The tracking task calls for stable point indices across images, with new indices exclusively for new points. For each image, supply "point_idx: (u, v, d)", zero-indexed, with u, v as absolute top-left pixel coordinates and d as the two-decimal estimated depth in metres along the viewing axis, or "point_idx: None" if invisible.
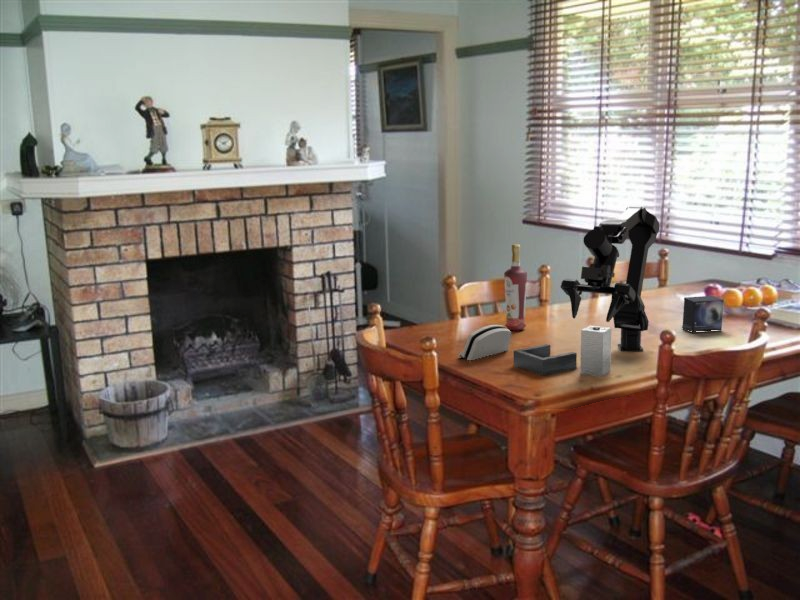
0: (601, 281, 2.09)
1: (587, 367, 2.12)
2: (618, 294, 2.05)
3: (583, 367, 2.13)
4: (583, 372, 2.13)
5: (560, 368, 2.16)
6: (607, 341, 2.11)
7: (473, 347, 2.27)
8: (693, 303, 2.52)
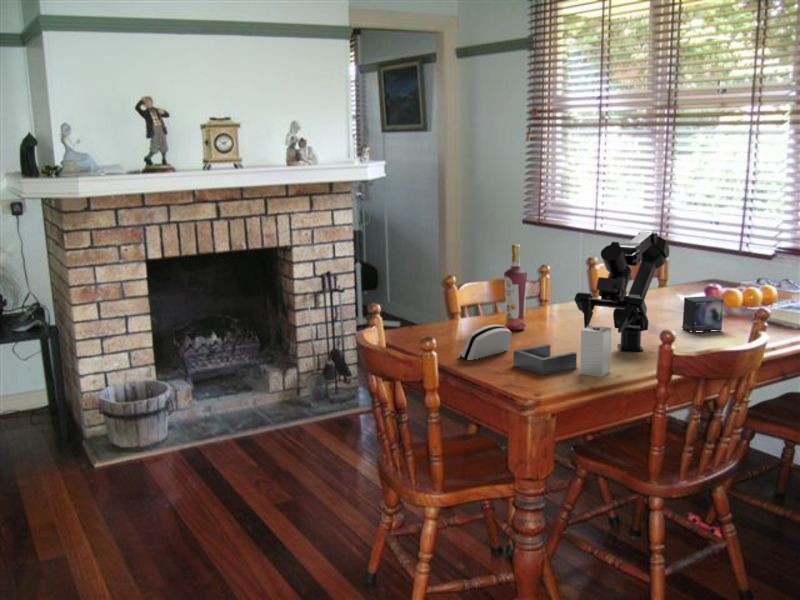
0: (615, 294, 2.17)
1: (587, 367, 2.12)
2: (631, 306, 2.13)
3: (583, 367, 2.13)
4: (583, 372, 2.13)
5: (560, 368, 2.16)
6: (606, 341, 2.11)
7: (473, 347, 2.27)
8: (693, 303, 2.52)
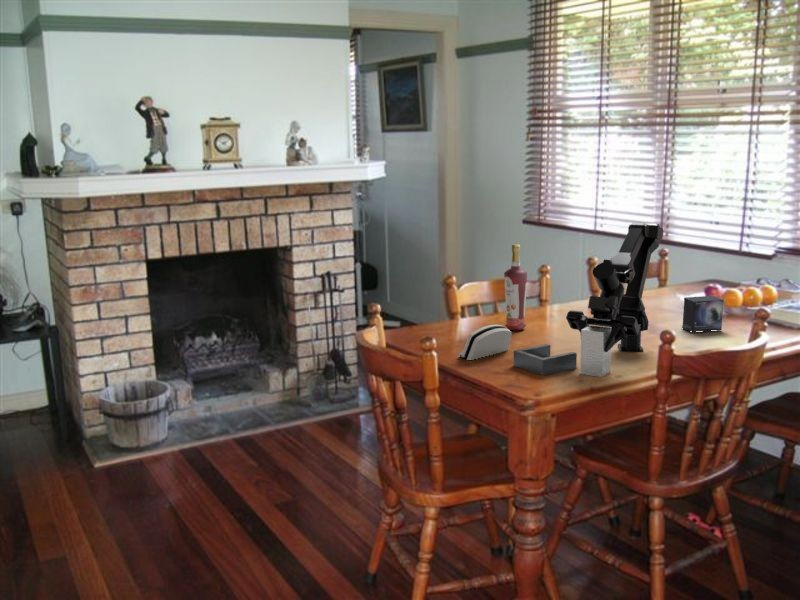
0: (607, 313, 2.13)
1: (587, 367, 2.12)
2: (618, 324, 2.10)
3: (583, 367, 2.13)
4: (583, 372, 2.13)
5: (560, 368, 2.16)
6: None
7: (473, 347, 2.27)
8: (693, 303, 2.52)
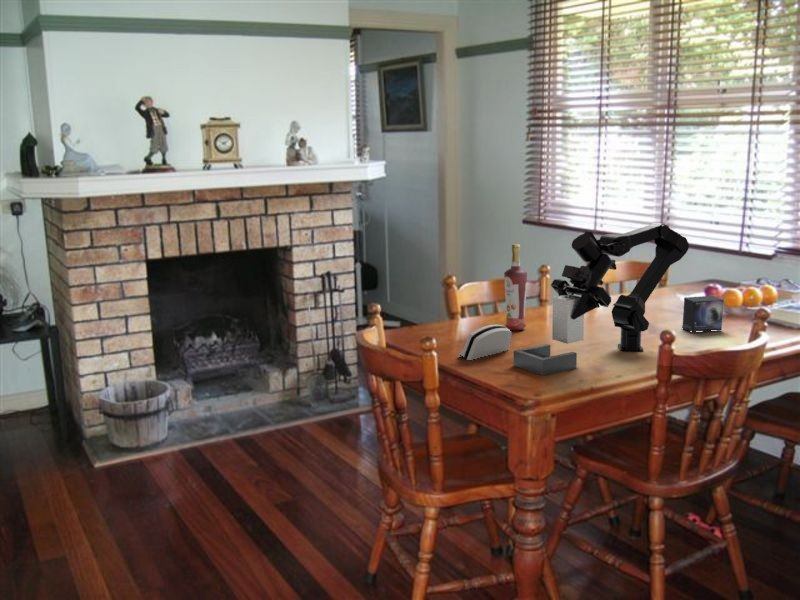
0: (582, 283, 2.20)
1: (556, 333, 2.22)
2: (586, 294, 2.17)
3: (554, 333, 2.23)
4: (554, 338, 2.23)
5: (560, 368, 2.16)
6: None
7: (473, 347, 2.28)
8: (693, 303, 2.52)
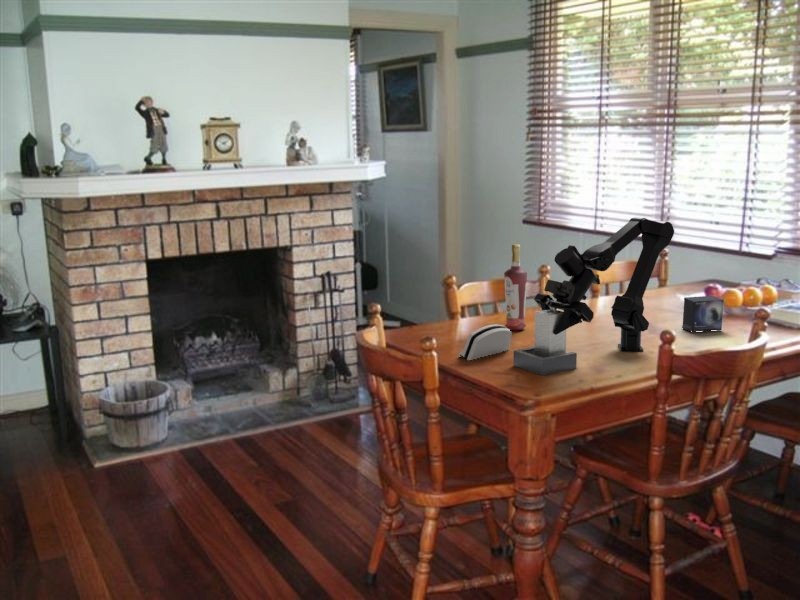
0: (564, 297, 2.18)
1: (539, 348, 2.20)
2: (568, 309, 2.14)
3: (536, 348, 2.21)
4: (536, 352, 2.21)
5: (560, 368, 2.16)
6: (557, 324, 2.17)
7: (473, 347, 2.28)
8: (693, 303, 2.52)
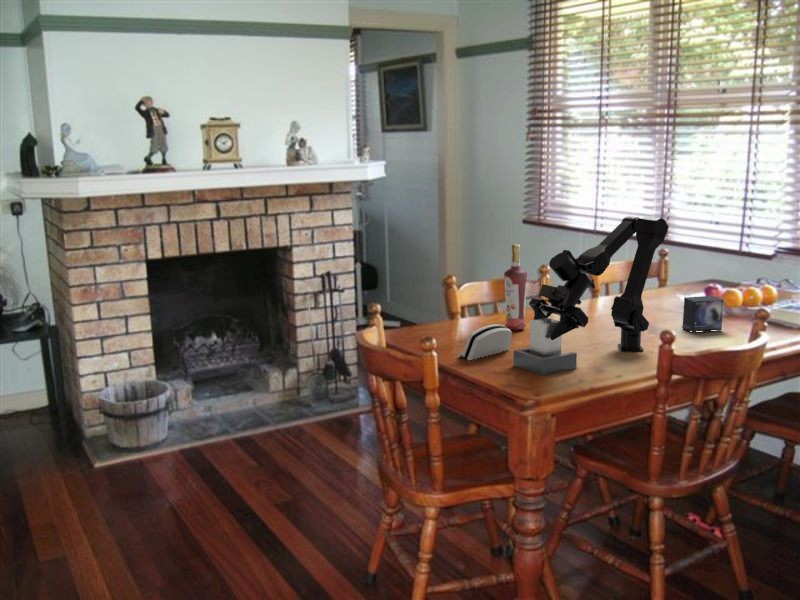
0: (559, 302, 2.18)
1: None
2: (565, 314, 2.13)
3: None
4: None
5: (560, 368, 2.16)
6: None
7: (473, 346, 2.28)
8: (693, 303, 2.52)
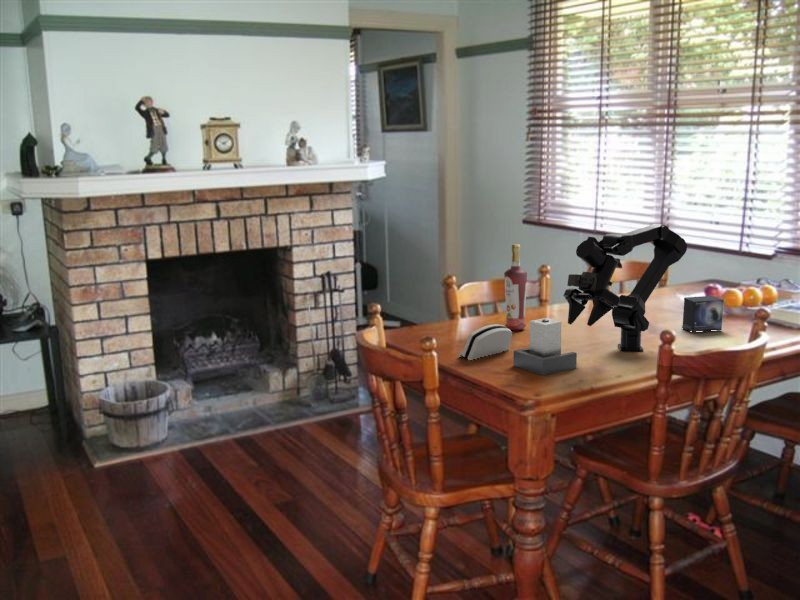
0: (588, 288, 2.22)
1: None
2: (596, 299, 2.16)
3: None
4: None
5: (560, 368, 2.16)
6: (552, 334, 2.16)
7: (473, 346, 2.28)
8: (693, 303, 2.52)
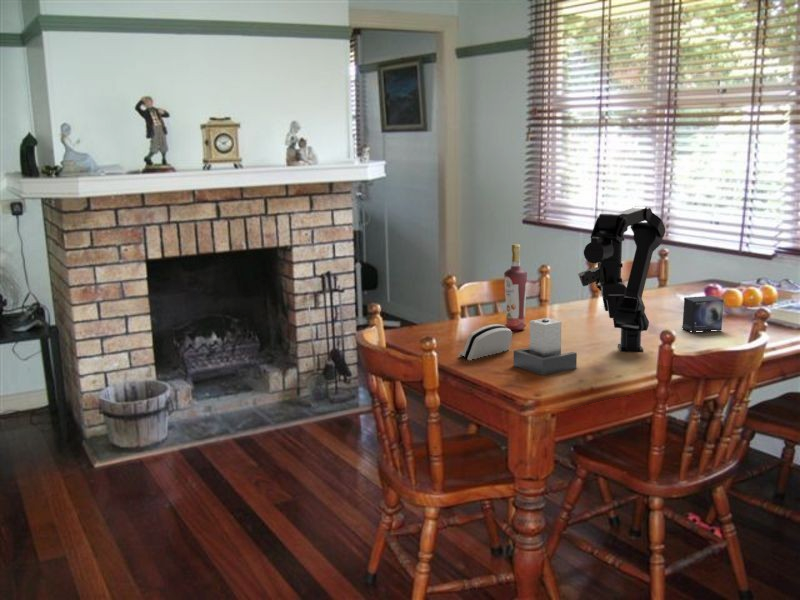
0: None
1: None
2: (602, 295, 2.16)
3: None
4: None
5: (560, 368, 2.16)
6: (552, 334, 2.16)
7: (473, 346, 2.28)
8: (693, 303, 2.52)
